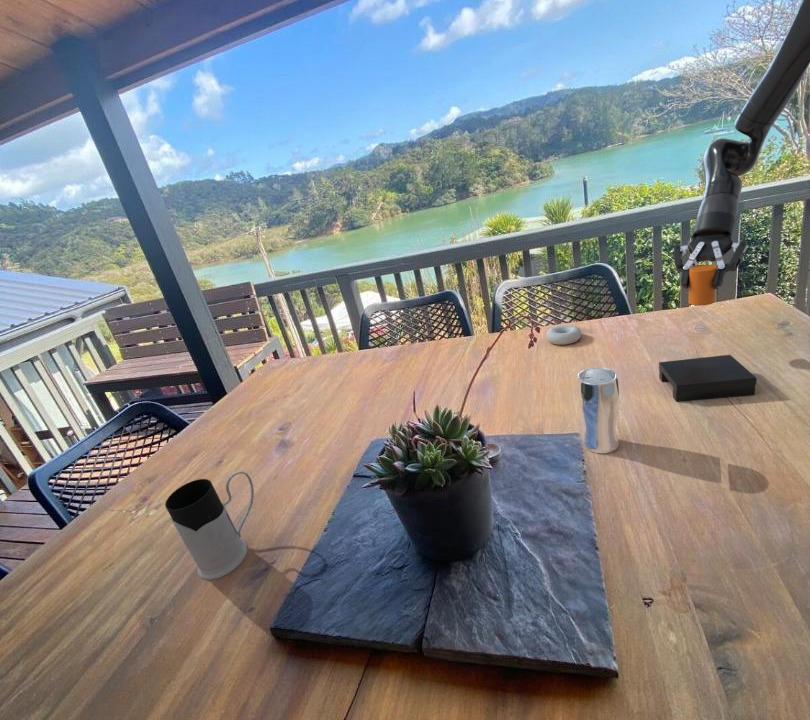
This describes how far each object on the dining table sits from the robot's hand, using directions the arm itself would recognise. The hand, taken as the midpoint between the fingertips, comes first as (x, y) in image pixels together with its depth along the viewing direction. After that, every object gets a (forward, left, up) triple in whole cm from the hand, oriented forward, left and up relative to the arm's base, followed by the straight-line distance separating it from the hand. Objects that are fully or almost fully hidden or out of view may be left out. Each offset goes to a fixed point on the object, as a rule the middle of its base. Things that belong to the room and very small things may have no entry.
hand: (700, 287), depth 96 cm
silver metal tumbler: (+27, +31, -18) cm, 45 cm away
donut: (+27, -21, -18) cm, 39 cm away
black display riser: (+3, +13, -18) cm, 22 cm away
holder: (+94, +55, -18) cm, 110 cm away
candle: (-1, -2, -4) cm, 5 cm away
